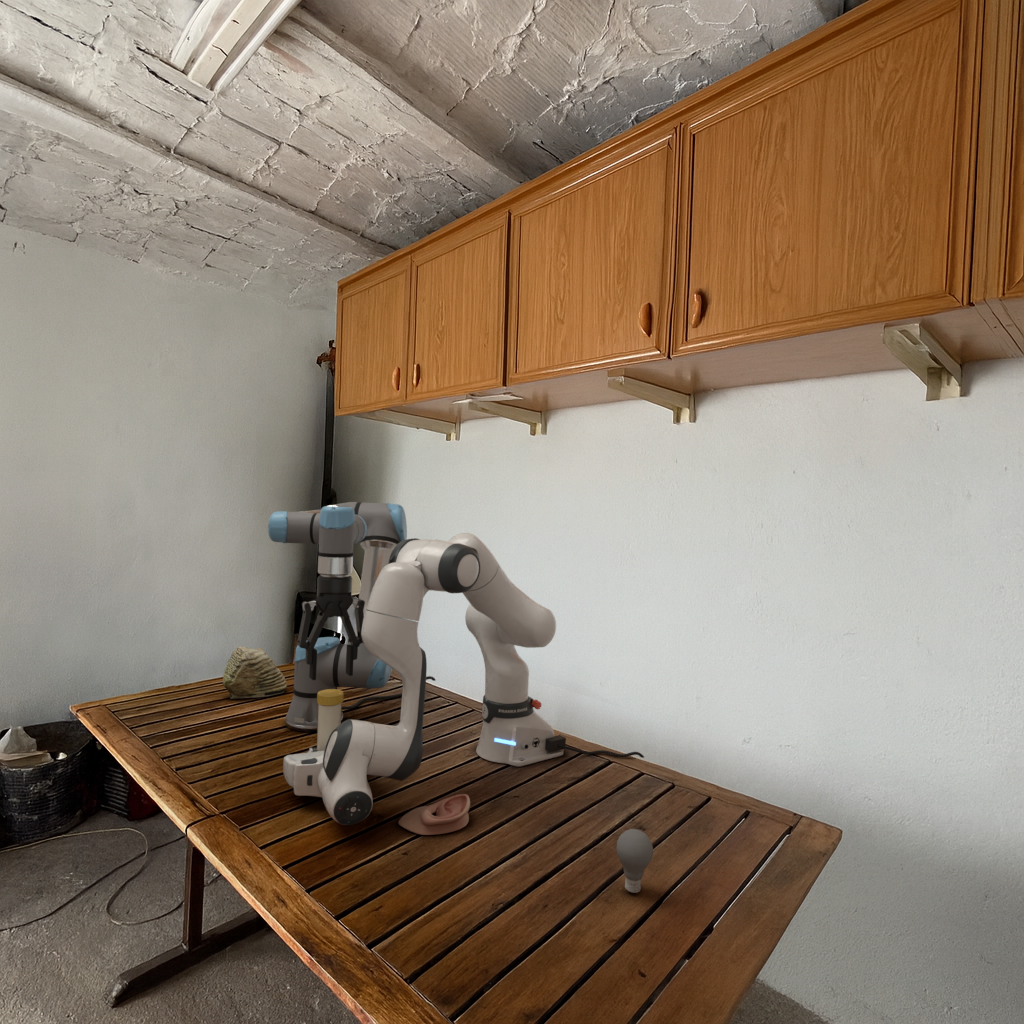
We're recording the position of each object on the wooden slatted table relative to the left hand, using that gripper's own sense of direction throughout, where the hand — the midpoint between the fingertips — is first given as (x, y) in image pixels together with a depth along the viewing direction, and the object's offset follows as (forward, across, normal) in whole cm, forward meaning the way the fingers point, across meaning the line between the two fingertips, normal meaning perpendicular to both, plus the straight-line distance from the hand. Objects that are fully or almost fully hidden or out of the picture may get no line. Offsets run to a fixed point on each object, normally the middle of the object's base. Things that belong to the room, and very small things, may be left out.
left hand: (331, 676), depth 142 cm
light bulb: (+23, -32, +65) cm, 76 cm away
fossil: (+23, +3, -68) cm, 71 cm away
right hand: (+17, 0, -1) cm, 17 cm away
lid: (+4, 0, 0) cm, 4 cm away
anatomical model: (+23, -13, +29) cm, 39 cm away
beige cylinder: (+23, 0, 0) cm, 23 cm away
